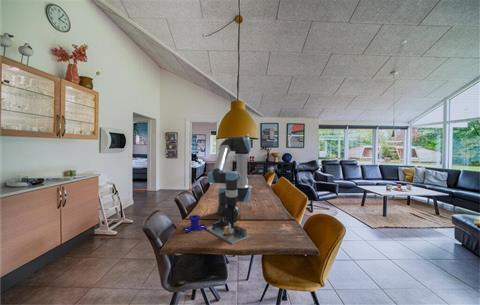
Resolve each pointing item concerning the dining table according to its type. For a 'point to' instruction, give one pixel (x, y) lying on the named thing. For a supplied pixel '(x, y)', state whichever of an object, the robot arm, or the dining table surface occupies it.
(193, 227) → the mount
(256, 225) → the dining table surface
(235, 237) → the plate
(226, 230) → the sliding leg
